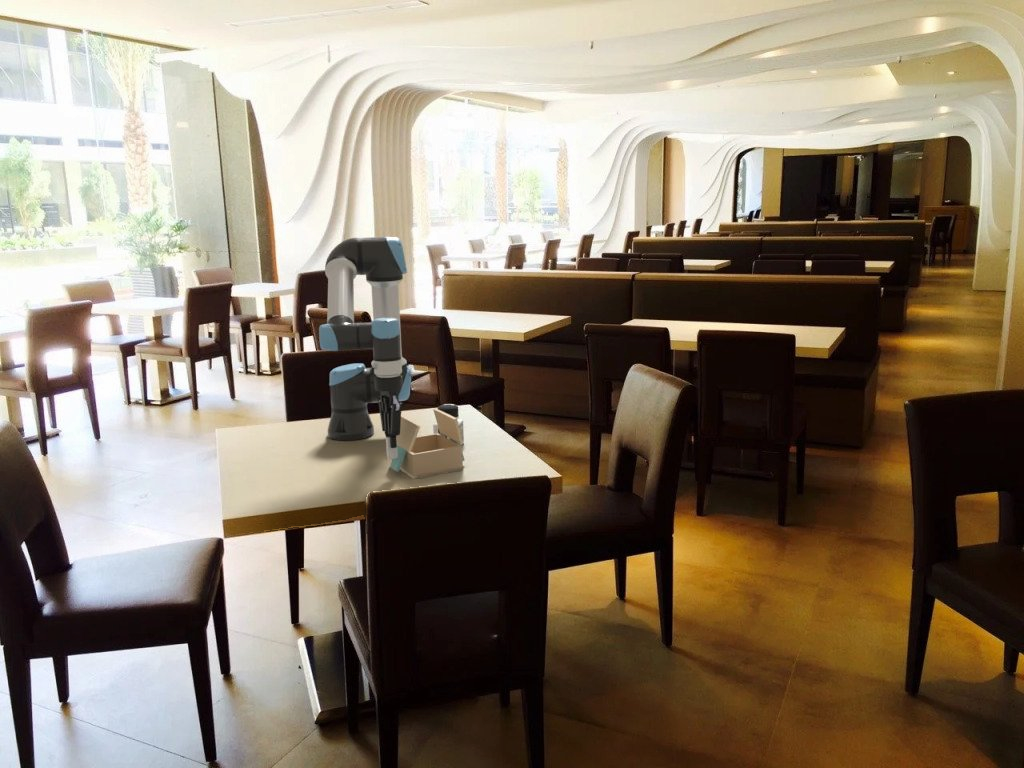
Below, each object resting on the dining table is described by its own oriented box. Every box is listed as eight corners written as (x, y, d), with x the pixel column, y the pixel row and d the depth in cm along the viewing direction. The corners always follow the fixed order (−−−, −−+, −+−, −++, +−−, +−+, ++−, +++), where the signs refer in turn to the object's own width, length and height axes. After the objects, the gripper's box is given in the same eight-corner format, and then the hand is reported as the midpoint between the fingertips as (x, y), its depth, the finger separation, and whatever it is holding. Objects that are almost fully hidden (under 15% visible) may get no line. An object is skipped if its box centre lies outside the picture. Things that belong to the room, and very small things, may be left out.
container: (457, 449, 253) (456, 408, 251) (433, 448, 255) (432, 408, 252) (464, 442, 261) (462, 402, 258) (440, 441, 262) (439, 402, 260)
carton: (392, 463, 240) (390, 440, 239) (438, 455, 247) (437, 433, 246) (414, 479, 226) (412, 454, 225) (462, 469, 233) (462, 446, 232)
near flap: (383, 461, 238) (381, 460, 237) (400, 415, 238) (398, 415, 237) (402, 474, 225) (399, 473, 225) (420, 426, 225) (417, 425, 225)
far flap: (433, 409, 243) (435, 408, 243) (445, 451, 247) (447, 450, 247) (454, 419, 230) (456, 418, 231) (466, 463, 235) (468, 462, 235)
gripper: (366, 372, 228) (371, 454, 232) (383, 380, 216) (388, 466, 221) (392, 370, 231) (396, 450, 236) (410, 377, 220) (414, 461, 224)
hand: (392, 458), depth 228 cm, fingers closed
